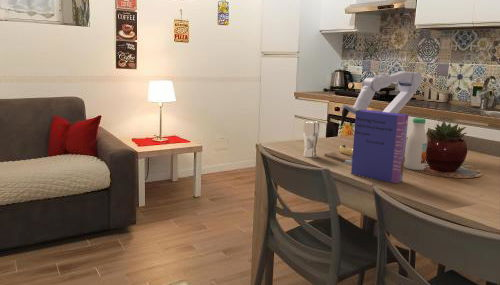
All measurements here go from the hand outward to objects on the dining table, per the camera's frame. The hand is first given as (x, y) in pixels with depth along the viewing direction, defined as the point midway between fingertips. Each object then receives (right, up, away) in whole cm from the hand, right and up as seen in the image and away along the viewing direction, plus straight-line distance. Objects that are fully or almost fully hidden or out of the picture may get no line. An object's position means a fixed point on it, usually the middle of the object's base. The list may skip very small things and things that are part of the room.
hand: (349, 130), depth 191 cm
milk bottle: (+23, -16, -14) cm, 31 cm away
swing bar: (0, -10, +1) cm, 10 cm away
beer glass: (-16, -11, +2) cm, 20 cm away
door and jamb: (+4, -13, -4) cm, 14 cm away
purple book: (+3, -18, -30) cm, 35 cm away
